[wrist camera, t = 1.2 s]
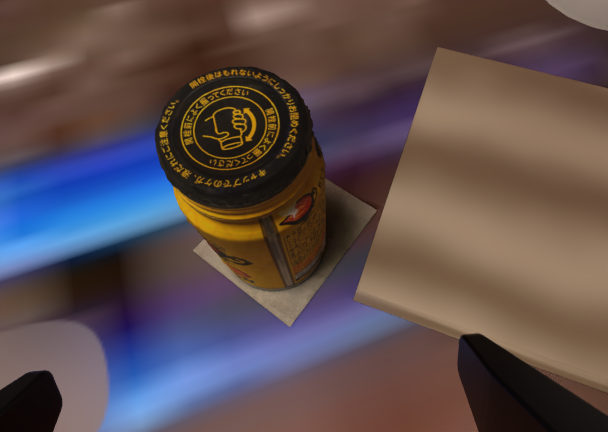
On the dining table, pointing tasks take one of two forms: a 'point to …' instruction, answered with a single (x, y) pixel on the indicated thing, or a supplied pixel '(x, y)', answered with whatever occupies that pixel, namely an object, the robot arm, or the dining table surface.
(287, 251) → the condiment
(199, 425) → the dining table surface
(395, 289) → the base board
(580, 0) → the honey pot
